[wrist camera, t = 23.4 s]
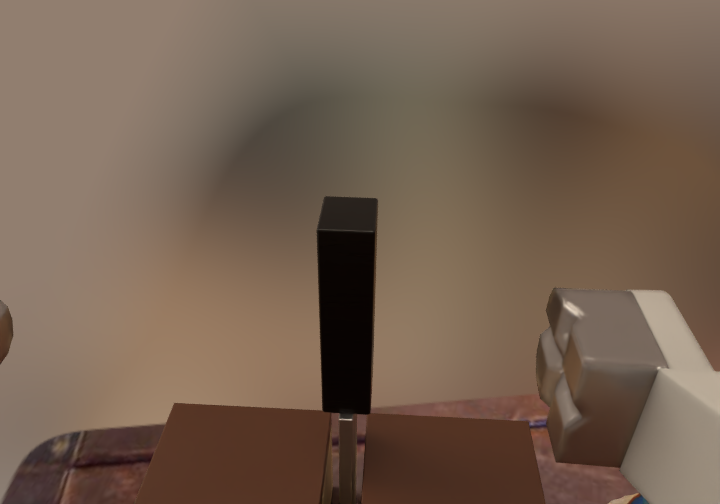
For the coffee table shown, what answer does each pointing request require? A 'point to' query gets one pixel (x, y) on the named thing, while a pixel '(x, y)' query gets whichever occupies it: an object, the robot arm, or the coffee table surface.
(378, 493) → the cake right
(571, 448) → the robot arm
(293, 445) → the cake left
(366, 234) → the knife
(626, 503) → the dessert
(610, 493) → the coffee table surface
